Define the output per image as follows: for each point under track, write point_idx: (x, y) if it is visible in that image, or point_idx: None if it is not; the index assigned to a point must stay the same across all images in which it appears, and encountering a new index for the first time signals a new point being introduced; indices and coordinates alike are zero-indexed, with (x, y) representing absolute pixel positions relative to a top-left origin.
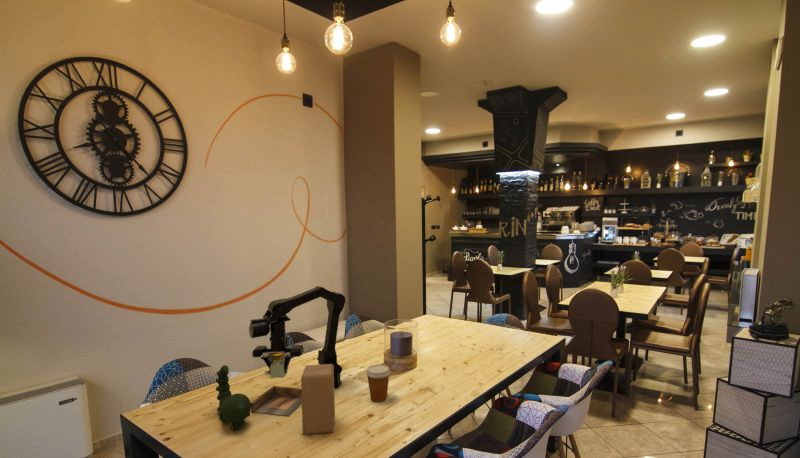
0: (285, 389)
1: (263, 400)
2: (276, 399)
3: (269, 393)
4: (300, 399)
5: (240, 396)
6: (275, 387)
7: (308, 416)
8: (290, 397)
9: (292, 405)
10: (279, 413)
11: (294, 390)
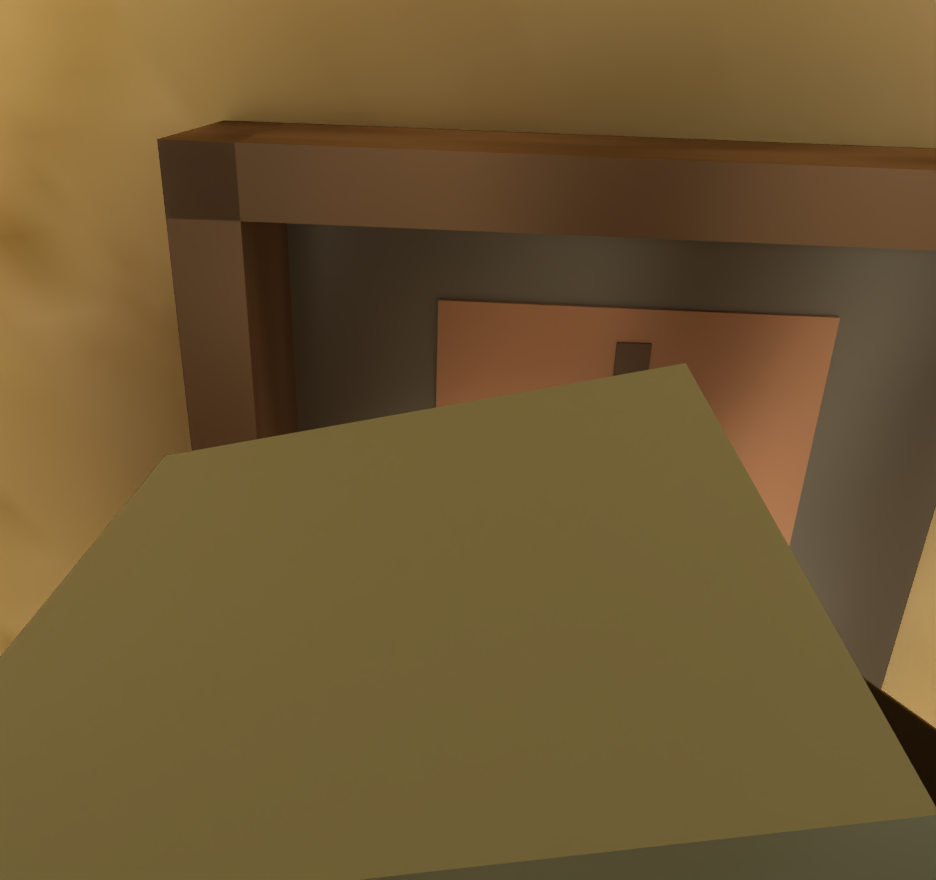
0: (547, 230)
1: None
2: (437, 378)
3: (267, 408)
4: (906, 295)
5: None
6: (268, 220)
7: None
8: (668, 245)
9: (821, 522)
10: None
11: (789, 237)
